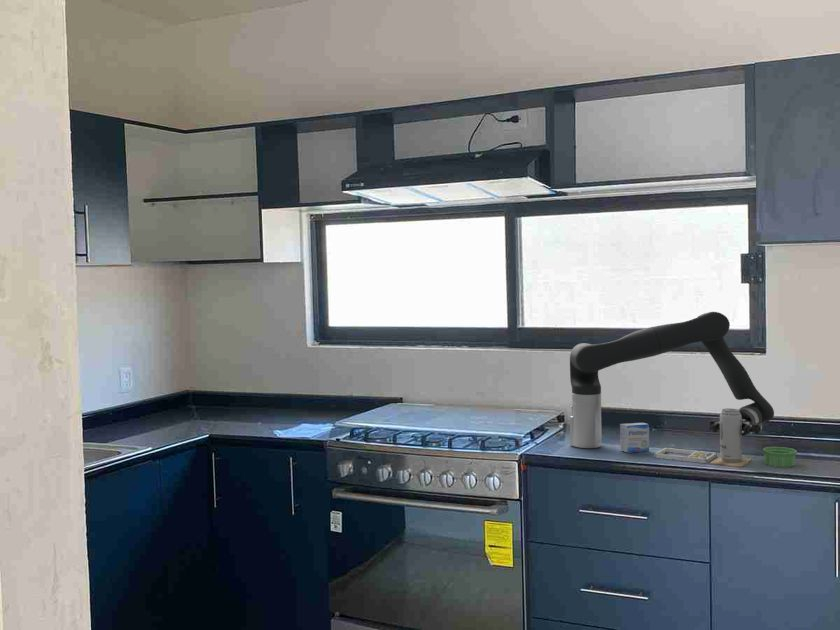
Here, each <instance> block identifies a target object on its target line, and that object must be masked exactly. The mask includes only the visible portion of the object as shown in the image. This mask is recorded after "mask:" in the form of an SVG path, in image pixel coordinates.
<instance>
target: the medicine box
mask: <svg viewBox="0 0 840 630" xmlns="http://www.w3.org/2000/svg"><path fill="white" fill-rule="evenodd" d="M619 442H620V443H619V447H620V448H619V449H620V451H621V452H623V451H624V452H623V453H626V452H627V453H626V454H634V453H633V452H637V453H645V452H644V451H648V452H649V451H650V424H649V423H645V422H633V423H632V422H631V423H619Z"/></svg>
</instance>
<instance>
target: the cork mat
mask: <svg viewBox="0 0 840 630" xmlns="http://www.w3.org/2000/svg"><path fill="white" fill-rule="evenodd" d="M752 460H753V459H752V458H747V457H746V458H745V457H742V458H741V459H740V461H739V462H725V461H722V458H721V457H720V455H719V456H717V457H716V458H714V459H713V460H711V461H710V462H709V464H710V465H714V466H715V465H716V466H724V467H734V468H741V469H743V468H744V467H745V466H746V465H747V464H749V463H750V462H751V461H752Z"/></svg>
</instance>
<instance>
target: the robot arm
mask: <svg viewBox="0 0 840 630" xmlns="http://www.w3.org/2000/svg"><path fill="white" fill-rule="evenodd" d="M730 326H731V324H730V320H729V319H728V317H727V316H726V315H724V314H723V313H720V312H719V311H709V312H704V313H702V314H700V315H698V316H697V317H695V318H693V319H689V320H686V321H681V322H674V323H667V324H662V325H661V324H660V325H655V326H651V327H646V328H643V329H639V330H637V331H633V332H630V333H629V334H626V335H624V336H622V337H620V338H619V339H616V340H612V341H609V342H602V343H595V344H591V343H588V342H587V343H586V342H584V343H583V342H581V343H578V344H576V345H575V346H574V347H573V348H572V349H571V352H570V354H569V374H570V375H569V376H570V377H569V379H570V385H571V393H572V394H571V401H572V404H571V405H572V406H571V414H572V415H571V416H569V446H571V447H574V448H575V447H576V448H578V449H579V448H581V449H597V448H601V447H602V385H601V383H600V378H599V371H601V370H603V369H606V368H609V367H612V366H615V365H618V364H621V363H625V362H626V363H627V362H633V361H637V360H638V361H639V360H642V359H646V358H651V357H655V356H659V355H661V354H665V353H669V352H672V351H675V350H677V349H679V348H683V347H684V346H688V345H691V344H694V343H700V342H701V343H702V344H703V346H704V347H705V349H706V350H707V352H708V353H709V354H710V356H711V357H712V359H713V360H714V362H715V364H716V366H718V368H719V371H720V372H721V374H722V375H723V376H722V377H723V378H724V380H725V382H726V383H727V385H728V387H729V389H730V391H731V393H732V395H733V396H734V398H735V399H736V400H737V401H738V400H739V401H741V400H751V401H752V403H749V404H746V405H745V406H742V407H740V408H738V409H739V410H740V411H739V412H740V414H741V415H742V437H743V436H746V435H749V434H750V435H751V434H753V433H754V434H756V435H758V434H759V435H760V433H762V431H763V424H764V423H767V422H769V421H772V420H773V419H774V416H775V410H774V408H773V406H772V405H771V403H770V402H769V401H768V400H767V399H766V398H765V397H764V396H763V395H762V394H761V393H760V391H759V390H758V389H757V388H756V386H755V384H754V383H753V381H752V379H751V376H750V375H749V374H748V372H747V370H746V368H745V367H744V366H743V364H742V363H741V362H740V361H739V360H738V357H736V356H735V355H734V354H733V352H732V351H731V349H730V348H729V346H728V345H727V343H726V340H725V338H724V337H725V336H726V335H727V334H728V333H729V331H730ZM708 421H709V422H708V423H709V424H708V425H709V426H708V428H709V429H708V430H711V431H712V432H713V433H717V432H720V418H714V419H711V420H708Z"/></svg>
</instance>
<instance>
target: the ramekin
mask: <svg viewBox="0 0 840 630" xmlns="http://www.w3.org/2000/svg"><path fill="white" fill-rule="evenodd" d="M762 452H763V461H764V464H765V465H766V464H767V465H766V466H768V465H770V466H769V467H772V466H776V467H775V468H782V467H787V468H792V467H791V466H793V467H794V466H795V465H796V456H797V453H798V451H797V450H796V449H795V448H792V447H783V446H766V447H763V448H762Z"/></svg>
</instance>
